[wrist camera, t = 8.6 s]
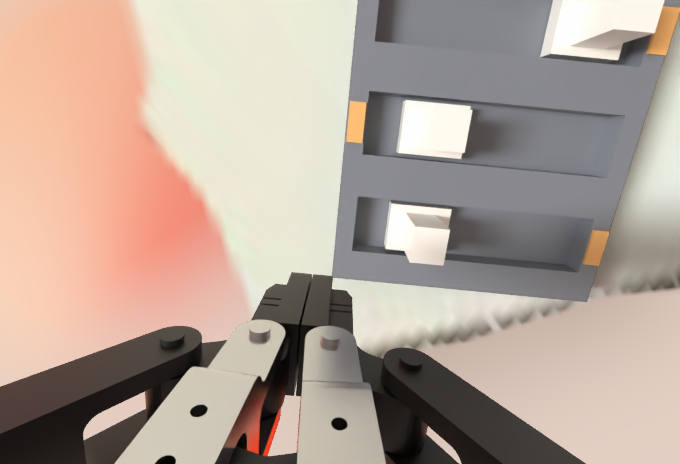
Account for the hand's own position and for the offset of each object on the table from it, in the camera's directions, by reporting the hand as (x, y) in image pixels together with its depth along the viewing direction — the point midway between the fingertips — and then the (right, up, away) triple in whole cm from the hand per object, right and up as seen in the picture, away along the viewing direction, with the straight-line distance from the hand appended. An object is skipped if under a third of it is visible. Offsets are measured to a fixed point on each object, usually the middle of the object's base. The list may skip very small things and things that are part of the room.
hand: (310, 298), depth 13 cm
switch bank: (+11, +9, +12) cm, 18 cm away
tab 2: (+6, +3, +12) cm, 14 cm away
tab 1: (+7, +9, +10) cm, 16 cm away
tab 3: (+16, +15, +9) cm, 23 cm away
